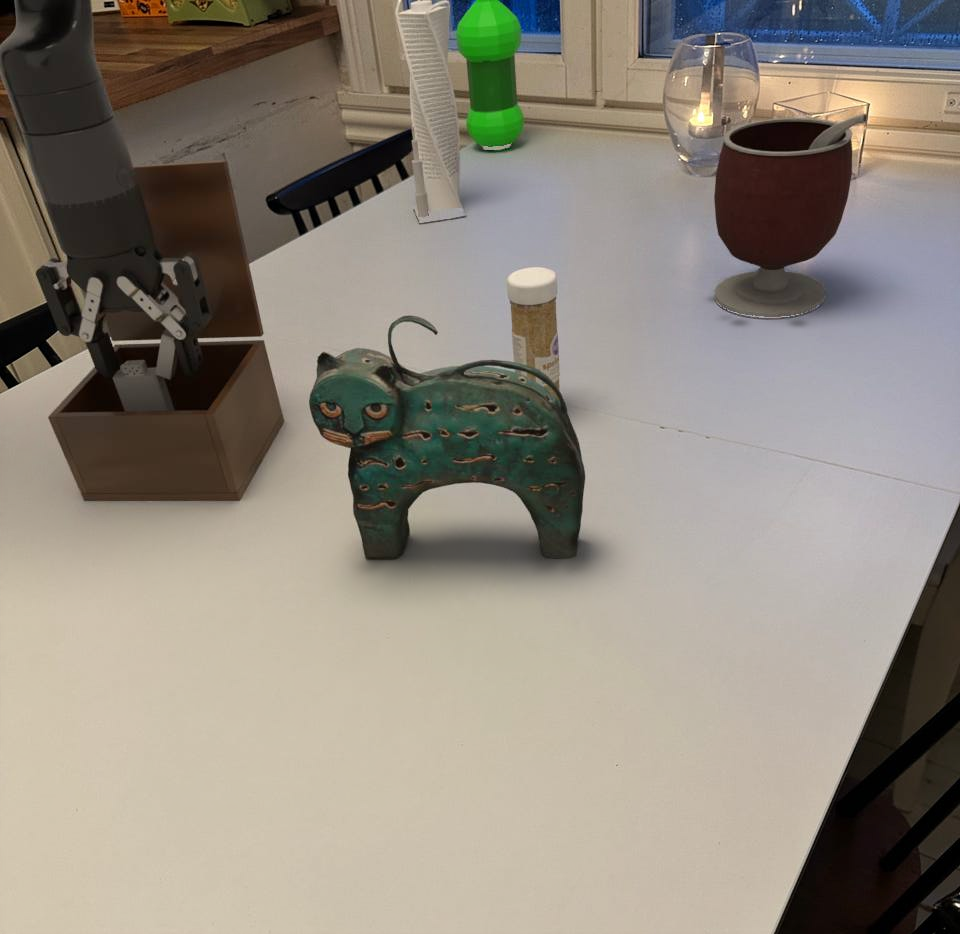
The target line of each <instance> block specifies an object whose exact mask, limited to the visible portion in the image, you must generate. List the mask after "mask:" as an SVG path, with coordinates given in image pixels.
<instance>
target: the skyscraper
mask: <svg viewBox="0 0 960 934" xmlns="http://www.w3.org/2000/svg"><path fill="white" fill-rule="evenodd" d="M401 1H402V0H397V3H396V7H395V12H394V17H395V20H396V23H397V28H398V32H399V36H400V40H401V44H402V48H403V49H402V50H403V52H404V57H405V60H406V64H407V69H408V72H409V107H410V109H409V110H410V118H411V119H410V120H411V127H410V128H411V135H412V140H411V146H412V147H411V148H412V155H413V160H411V164H412V173H413V179H414V187H415V193H414V196H415V203H416V206H417V210H418V217H423V218H424V217H426V216H429V213H428V211H429V212H431V211H438V210H443V209H451V208H462V207H463V204H462V202H461V200H460V183H461V181H460V178H461V142H460V141H461V140H460V125H459V123H460V122H459V115H458V107H457V101H456V95H455V91H454V86H453V83H452V77H451V74H450V71H449V68H448V56H449V39H450V38H449V37H450V19H451V18H450V17H451V4H450V1H449V0H440V1H438V2H436V3H434V4H433V3H432V2H433V1H432V0H415V1H413V2H411V3H410V8H409V9H406V10H403V11H400V12H399V9H400V5H401ZM458 197H459V198H458ZM413 212H414V211H413ZM414 214H415V212H414ZM415 218H416V220H417V221H418V219H417V217H416V216H415ZM463 218H467V215H466V216H463V217H457V218H451V219H444V220H438V221H431V222H425V223H419V222H418V225H424V224H430V223H436V222H443V221H448V220H449V221H450V220H455V219H463Z"/></svg>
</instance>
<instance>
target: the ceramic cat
mask: <svg viewBox="0 0 960 934" xmlns="http://www.w3.org/2000/svg"><path fill="white" fill-rule="evenodd" d="M401 323H413V324H418V325H420V326H421V327H424V328H425V329H426V330H429V331H431V332H432V333H433V335H435V336H437V335H438V333H439V332H438V330H437V328H436V327H435V326H434V325H433V324H432V323H431V322H430V321H428V320H427V319H425V318H424V317H423V318H422V317H420V316H416V315H403V316H400V317H398V318H397V319H396V320H394V321H393V322H392V323H390V326H389V328H388V332H387V347H388V351H389V355H390V356H389V355H387V354H385V353H382V352H381V351H378V350H374V349H370V348H364V347H356V348H353V349H348V350H345V351H344V352H342V353H340V354H339V355H337V356H335V355H332V354H331V353H329V352H327V351H322V352H321V353H320V354H319V355H318V356H317V359H316V364H317V365H316V378H315V381H314V384H313V386H312V389H311V391H310V393H309V399H308V405H309V410H310V414H311V418H312V421H313V423H314V425H315V426H316V428H317V430H318V432H319V435H320V436H321V437H322V438H323V439H325V440H326V441H328V442H330V443H332V444H334V445H337V446H341V447H345V448H347V449H350V450H349V451H350V452H349V457H348V462H347V478H348V481H349V486H350V490H351V494H352V514H353V516H354V519H355V523H356V524H357V528H358V530H359V534H360V539H361V544H362V548H363V553H364V559H367V560H396V559H397V558H399V557H400V556H402V555H403V554H404V552H405V551H406V548H407V543H408V539H409V537H410V536H411V535H410V533H411V531H410V530H411V529H410V528H411V527H410V523H409V509H410V508H411V507H412V505H413V504H414V503H415V502H416V500H417V499H418V498H419V497H420V496H421V495H422V494H423V493H425V492H428V491H429V490H433V489H437V488H443V487H448V486H452V485H458V484H472V483H474V484H484V485H485V484H486V485H492V486H495V487H500V488H503V489H506V490H508V491H511V492H513V493H514V494H515V495H516V496H517V497H518V498H519V499H520V501H521V502H522V504H523V505H524V508H526V510H527V511H528V513H529V515H530V518H531V520H532V522H533V523H534V526H535V529H536V531H537V532H536V533H537V537H538V543H539V550H540V553H541V555H542V556H543V557H545V558H550V559H565V558H572V557H576V555H577V554H578V547H579V539H580V532H581V526H582V516H583V508H584V493H585V485H586V470H585V465H584V462H583V457H582V450H581V445H580V441H579V439H578V436H577V433H576V431H575V428H574V425H573V423H572V420H571V418H570V416H569V413H568V409H567V405H566V402H565V399H564V397H563V395H562V392H561V391H559V389H558V388H557V386H556V384H555V383H554V382H553V381H552V380H551V379H550V378H549V377H548V376H547V375H545V374H544V373H543V372H541V371H540V370H538V369H536V368H533V367H530V366H527V365H524V364H521V363H515V362H514V361H510V360H499V359H482V360H476V361H472V362H468V363H464V364H462V365H453V366H445V367H440V368H434V369H431V370H428V371H423V372H416V371H413V370H410V369H408V368H405V366H403V365H402V364H401V363H399V361H398V358H397V355H396V353H395V351H394V347H393V344H392V333H393V331H394V329H395V328H396V326H398V325H400V324H401ZM498 367H500V368H498ZM503 368H504V369H503ZM513 370H514V371H513ZM515 370H519V371H524V372H527V373H529V374H532V375H534V376H535V377H537V378H539V379H540V380H541V381H543V382H544V383H546V384H547V385H548V386H550V387H551V388H552V390H553V391H554V392H555V393H556V395H557V396H558V398H559V401H560V402H559V401H558V399H557V398H556V397H555V396H554V395H553V394H552V393H550V392H549V391H548V390H547V389H546V388H545V387H543V386H542V385H540V384H539V383H537V382H535V381H533V380H532V379H530V378H528V377H527V376H524V375H522V374H519V373H517V372H515Z"/></svg>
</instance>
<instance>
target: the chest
mask: <svg viewBox="0 0 960 934" xmlns="http://www.w3.org/2000/svg"><path fill="white" fill-rule="evenodd" d="M198 342H199V345H200V349H201V352H202V355H203V359H204V360H203V365H202V366H201V368H200V371H199V372H198V373H197V375H196V376H195V377H194V378H186V377H185V376H184V373H183V370H182V367H181V364H180V360H179V357H178V359H177V365H176V370H175V373H174V375H173V376H172V378H171V380H169V379H166V378H164V380H165V383H166V386H167V389H168V392H169V395H170V398H171V401H172V404H173V407H174V411H131V412H125V410H124V407H123V405H122V402H121V399H120V397H119V394H118V391H117V389H116V386H115V383H114V381H113V380H105V379H104V378H103V375H102V374H99V372H98V371H97V370H96V369H95V366H94V367H93V368H92V369H91V370H90V371H89V372H88V373H87V374H86V375H85V377H83V378H82V380H81V381H80V382H79V383H78V384H77V385H76V386H75V387H74V388H73V389H72V391H71V392H70V393H69V394H68V395H67V396H66V397H65V398H64V399H63V400H62V401H61V403H59V404H58V405H57V406H56V407H55V408H54V409H53V411H52V412H51V413H50V414H49V415H48V416H47V419H48V420H49V424H50V426H51V428H52V430H53V432H54V435H55V438H56V439H57V442H58V445H59V447H60V449H61V451H62V453H63V456H64V458H65V460H66V463H67V465H68V467H69V469H70V472H71V474H72V476H73V479H74V481H75V483H76V486H77V488H78V491H79V493H80V495H81V498H82V500H83V501H240V500H241V498H242V497H243V495H244V493H245V492H246V489H247V488H248V486H249V485H250V483H251V481H252V479H253V478H254V475H255V473H257V470H258V468H259V466H260V465H261V463H262V461H263V460H264V458H265V456H266V454H267V452H268V451H269V449H270V447H271V445H272V443H273V442H274V439H275V438H276V436H277V435H278V433H279V431H280V429H281V427H282V426H283V424H284V422H285V417H284V415H283V411H282V406H281V402H280V398H279V394H278V391H277V387H276V386H277V385H276V383H275V379H274V375H273V371H272V366H271V363H270V358H269V355H268V351H267V348H266V347H267V346H266V343H265V340H264V339H257V340H225V341H224V340H222V341H198ZM113 348H114V351H115V353H116V356H117V359H118V362H119V365H120V366H121V365H122V364H124V363H125V362H126V361H133V360H145V363H146V366H147V368H155V367H157V361H158V355H159V349H160V342H156V343H155V342H154V343H153V342H151V343H123V344H118V343H117V344H114V345H113Z"/></svg>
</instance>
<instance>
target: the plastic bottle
mask: <svg viewBox="0 0 960 934" xmlns="http://www.w3.org/2000/svg"><path fill="white" fill-rule="evenodd" d="M456 27H457V28H456V32H455V38H456V45H457V48H458V52H459V53H460V55H461V56H463V58H464V59H465V61H466V71H467V72H466V73H467V84H468V94H469V105H470V106H469V107H470V108H469V111H468V113H467V117H466V121H465V124H466V130H467V133H468V135H469V137H470V138H471V140H472V141H473V142H475V143H476V144H477V145H478V144H479V145H482V146H488V147H493V146H504V145H507V144H511V143H513V142H514V141H515V142H516V141H517V139H518V138H519V137H520V136H521V134H522V132H523V130H524V126H525V116H524V112H523V110H522V108H521V107H520V105H519V104H518V93H517V75H516V74H517V73H516V60H515V59H516V58H515V54H516V53H517V51H518V50H519V48H520V47H521V42H522V26H521V24H520V21H519V18H518V17H517V16H516V15H515V13H513V12H512V11H511V10H510V9H509V8H508V7H507V6H506V5H504V3H502V2H501V1H500V0H475V1H474V3H472V5H471V6H470V7H469V8H468V10H466V12H465V14H464V15H463V16H462V18H461V19H460V20H459V22H458V24H457V26H456ZM515 142H514V143H515ZM514 143H513V144H514ZM513 144H512V145H511V146H510V147H509V148H506V149H503V150H494V151H493V152H501V151H502V152H503V151H505V150H509V149H510V148H512V146H513ZM479 145H478V146H479Z"/></svg>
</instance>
